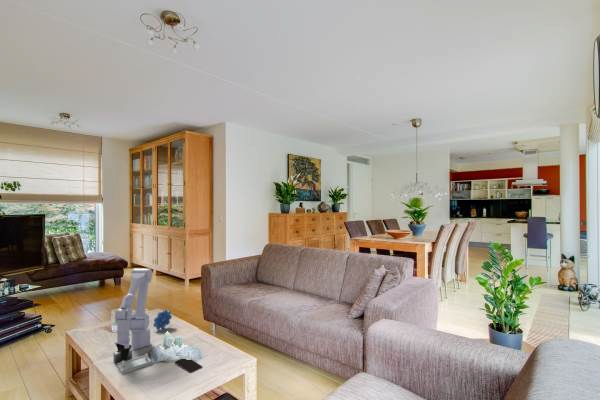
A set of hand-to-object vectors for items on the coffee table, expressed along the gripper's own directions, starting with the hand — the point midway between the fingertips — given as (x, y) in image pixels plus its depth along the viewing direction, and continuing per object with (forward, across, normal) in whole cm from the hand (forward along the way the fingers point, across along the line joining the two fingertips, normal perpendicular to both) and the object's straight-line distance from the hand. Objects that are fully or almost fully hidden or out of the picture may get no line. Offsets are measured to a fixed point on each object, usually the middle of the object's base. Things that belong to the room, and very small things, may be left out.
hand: (123, 357), depth 164 cm
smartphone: (+2, +28, +23) cm, 36 cm away
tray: (+1, +10, +3) cm, 11 cm away
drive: (+2, 0, 0) cm, 2 cm away
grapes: (+2, -28, +30) cm, 41 cm away
